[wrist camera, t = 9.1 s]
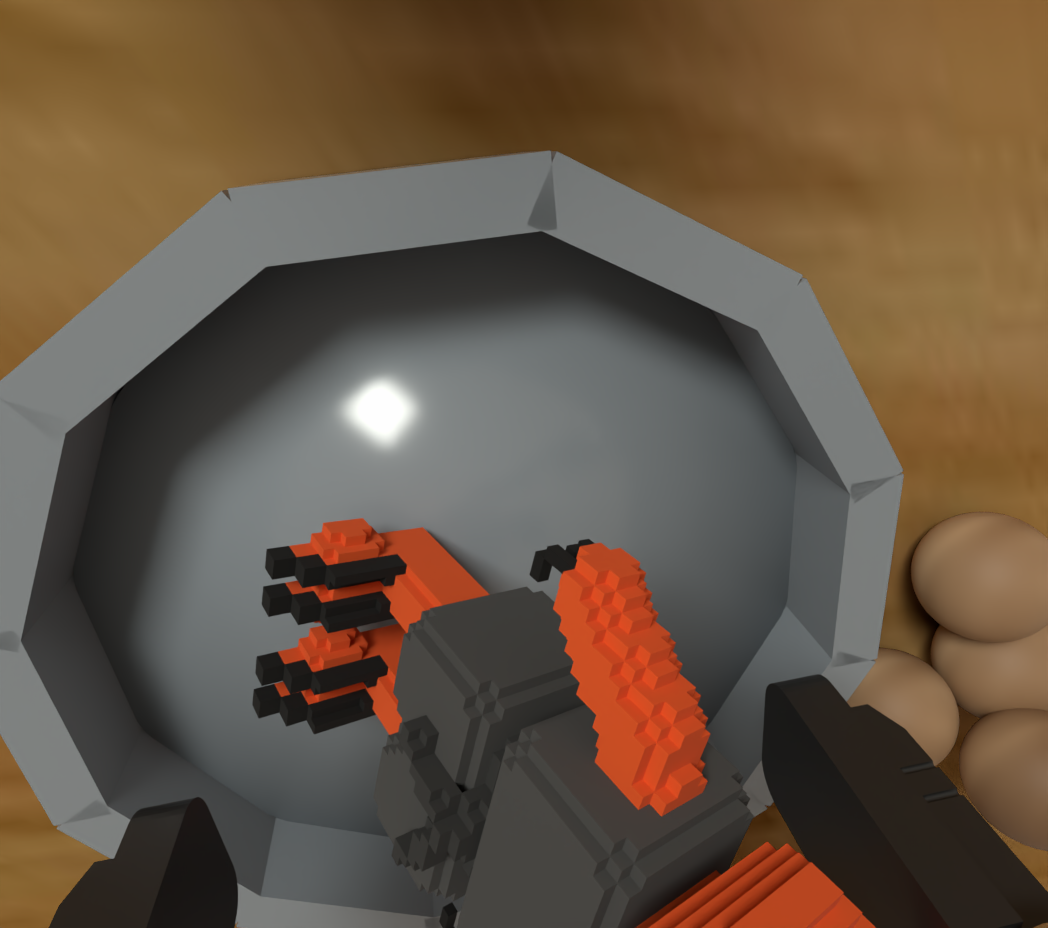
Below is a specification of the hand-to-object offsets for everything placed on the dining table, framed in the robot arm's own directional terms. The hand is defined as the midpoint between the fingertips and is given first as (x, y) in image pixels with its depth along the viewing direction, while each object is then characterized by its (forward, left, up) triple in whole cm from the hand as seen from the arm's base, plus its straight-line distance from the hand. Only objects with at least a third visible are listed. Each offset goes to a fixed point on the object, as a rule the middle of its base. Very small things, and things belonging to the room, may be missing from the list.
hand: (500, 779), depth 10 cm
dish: (0, 0, -5) cm, 5 cm away
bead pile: (-12, +4, -5) cm, 14 cm away
